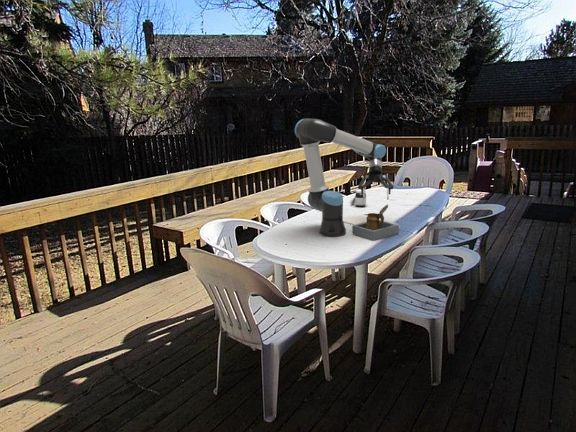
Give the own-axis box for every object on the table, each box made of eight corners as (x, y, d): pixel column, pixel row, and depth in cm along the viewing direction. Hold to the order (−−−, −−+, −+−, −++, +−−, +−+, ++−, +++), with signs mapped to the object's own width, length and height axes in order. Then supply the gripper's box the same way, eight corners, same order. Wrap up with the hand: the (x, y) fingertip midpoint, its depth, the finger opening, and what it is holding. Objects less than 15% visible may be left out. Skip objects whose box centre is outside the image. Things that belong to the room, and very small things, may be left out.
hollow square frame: (373, 240, 229) (373, 231, 228) (352, 234, 242) (352, 225, 240) (398, 233, 240) (398, 225, 239) (376, 227, 253) (377, 219, 252)
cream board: (355, 225, 259) (355, 224, 259) (335, 219, 273) (335, 218, 273) (375, 220, 269) (375, 219, 269) (355, 215, 283) (355, 214, 283)
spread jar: (365, 207, 303) (366, 191, 300) (349, 207, 305) (349, 191, 302) (365, 204, 315) (366, 188, 312) (350, 203, 317) (350, 188, 314)
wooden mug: (383, 238, 233) (384, 206, 228) (361, 234, 241) (361, 202, 237) (390, 234, 239) (391, 202, 235) (369, 230, 248) (370, 200, 243)
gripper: (396, 172, 258) (397, 202, 247) (354, 172, 262) (353, 201, 251) (397, 164, 252) (398, 195, 241) (354, 165, 256) (353, 194, 245)
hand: (375, 198), depth 246 cm, fingers open, 13 cm apart
